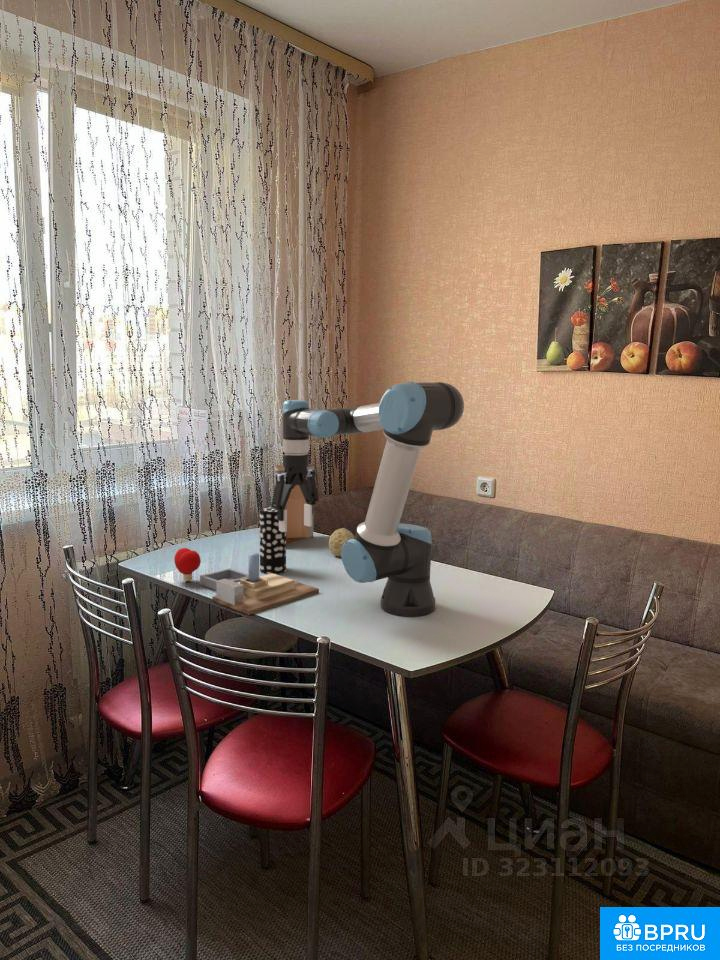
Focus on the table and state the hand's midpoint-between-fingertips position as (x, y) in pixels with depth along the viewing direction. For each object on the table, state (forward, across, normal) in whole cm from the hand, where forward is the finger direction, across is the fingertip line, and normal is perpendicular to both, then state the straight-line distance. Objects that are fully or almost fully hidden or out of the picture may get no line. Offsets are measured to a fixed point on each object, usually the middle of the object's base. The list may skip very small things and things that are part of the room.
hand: (295, 528), depth 216 cm
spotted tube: (+18, -5, -16) cm, 24 cm away
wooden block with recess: (+16, +12, 0) cm, 20 cm away
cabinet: (+18, -33, -41) cm, 56 cm away
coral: (+18, -33, -13) cm, 40 cm away
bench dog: (+16, +24, 0) cm, 29 cm away
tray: (+17, +15, -14) cm, 27 cm away
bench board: (+17, +13, +2) cm, 22 cm away
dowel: (+14, +16, 0) cm, 21 cm away
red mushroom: (+18, +21, -25) cm, 37 cm away
